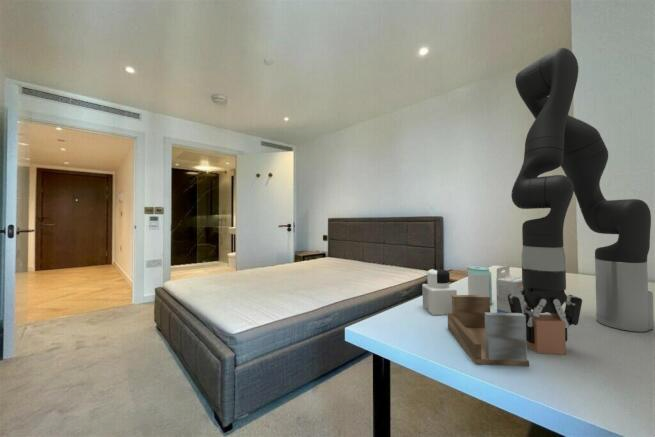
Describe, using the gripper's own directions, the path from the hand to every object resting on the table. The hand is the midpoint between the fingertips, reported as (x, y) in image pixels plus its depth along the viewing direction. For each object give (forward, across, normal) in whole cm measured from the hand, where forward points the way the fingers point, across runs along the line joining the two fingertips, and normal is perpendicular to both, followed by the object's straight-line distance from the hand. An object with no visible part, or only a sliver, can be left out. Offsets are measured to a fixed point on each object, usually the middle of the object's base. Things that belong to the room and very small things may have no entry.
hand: (544, 341), depth 58 cm
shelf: (+2, +12, -1) cm, 12 cm away
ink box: (+2, -3, -18) cm, 18 cm away
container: (+2, +16, -23) cm, 28 cm away
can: (+2, 0, -32) cm, 32 cm away
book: (+2, 0, 0) cm, 2 cm away
